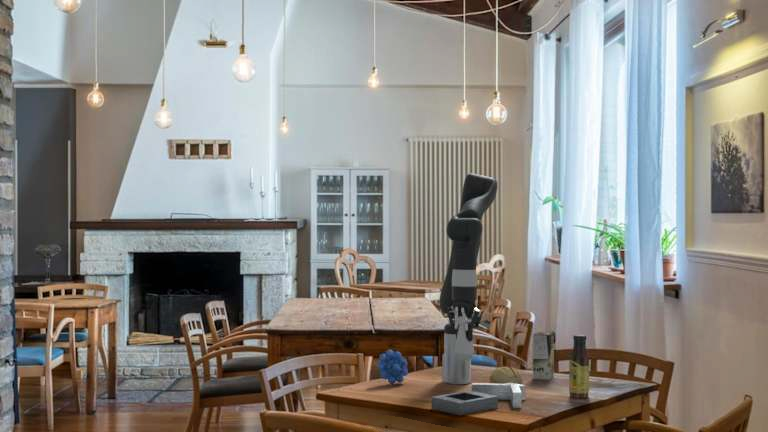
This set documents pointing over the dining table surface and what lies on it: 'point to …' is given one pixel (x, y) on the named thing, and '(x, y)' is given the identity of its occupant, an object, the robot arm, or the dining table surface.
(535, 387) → the dining table surface
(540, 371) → the coffee box
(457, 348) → the salt shaker
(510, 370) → the bread roll
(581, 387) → the sauce bottle
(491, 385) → the v block
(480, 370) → the dining table surface
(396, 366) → the grapes
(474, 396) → the grey rectangular frame
